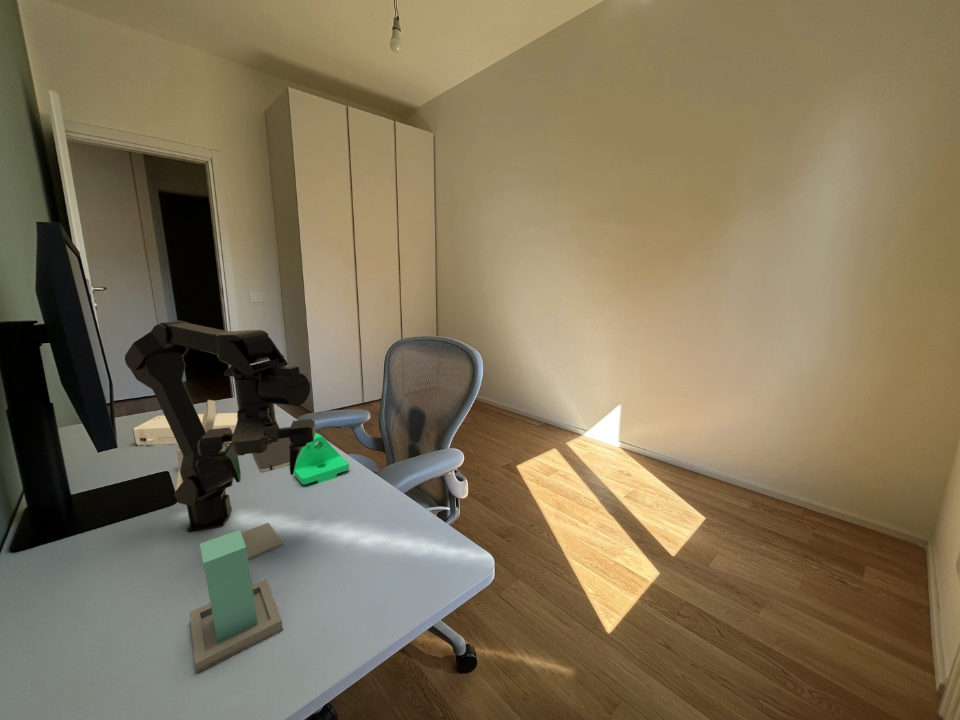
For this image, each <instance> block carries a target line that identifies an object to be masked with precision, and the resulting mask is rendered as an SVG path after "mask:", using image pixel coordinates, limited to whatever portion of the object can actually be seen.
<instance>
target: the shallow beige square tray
mask: <svg viewBox="0 0 960 720" xmlns="http://www.w3.org/2000/svg"><path fill="white" fill-rule="evenodd" d="M252 590H253V596H254V603H255V609H256V616H257V622H258V624H256V625H254V626H252V627H250V628H248V629H246V630H244V631H242V632H240V633H238V634H236V635H234V636H232V637H230V638H227V639H225V640H223V641H221V642H219V643H218V642H217V636H216V631H215V625H214V620H213V614H212V609H211V603H210V602H209V603H207V604H204V605H203V606H200V607H198V608H195V609H193V610H191V611H189V619H190V628H191V638H192V648H193V655H194V663H195V670H196V674H199V673H201V672H203V671H205V670H207V669H210V668H211V667H213V666H215V665H217V664H218V663H221V662H222V661H224V660H226V659H228V658H231V657H232V656H234V655H236V654H238V653H240V652H242V651H244V650H246V649H249V647H252V646H254V645H256V644H257V643H259V642H262V641H264V640H265V639H268V638H269V637H271V636H273V635H275V634H277V633H279V632H281V631H283V630H284V629H283V621H282V618H281V614H280V612H279V609H278V607H277V604H276V601H275V599H274V597H273V593H272V591H271V588H270V585H269V583H268V580H267V578H264V579H262V580H260V581H257V582H255V583H253V584H252Z"/></svg>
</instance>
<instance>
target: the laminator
mask: <svg viewBox="0 0 960 720" xmlns="http://www.w3.org/2000/svg"><path fill="white" fill-rule="evenodd" d="M197 414H198V416H199V419H200V421H201V423H202V421H203V416H204V413H197ZM237 420H238V418H237V412H222V413H217V412H216V417H215V421H214V425H213V429H220V428H229V427H230V429H231V430H232V433H234V430H235V427H236V424H237ZM132 434H133V438H134V442H135V445H136V444H145V443H147V444H171V443H173V444H174V443H177V441H176V439H175V437H174V434H173V432H172V430H171V428H170V426H169V424H168V422H167V419H166V417H165V415H156V416H153V417H152V418H150V419H148V420H146V421H145V422H142V423H140V424H139V425H137V426H135V427H133V428H132ZM177 444H178V443H177Z"/></svg>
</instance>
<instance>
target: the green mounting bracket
mask: <svg viewBox="0 0 960 720" xmlns="http://www.w3.org/2000/svg"><path fill="white" fill-rule="evenodd" d="M349 469H350V463H349V461H348V460H347V459H345V458H344V457H343V456H342V455H341V454H340V453H339V452H338V451H337V450H336V449H335V448H334V447H333V446H332V444H330V443H329V442H328V441H327V439H326V438H324V436H322V434H320V433H317V432H316V433H315V437H314V441H312V442H310V443H307V445H306V446H305V447H303V448H302V450H301V452H300V454H299V456H298V458H297V461H296V465H295V469H294V473H293V475H294V476H295V477H296V478H297V480H298V482H300V483H301V484H302V485H307V484H311V483H314V482H317V484H320V482H321V483H323V481H324V482H326V481H329V480H332V479H335V478H337V477H338V475H337V474H340V473H342V472H343V473H344V472H346V471H348V470H349Z"/></svg>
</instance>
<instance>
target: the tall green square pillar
mask: <svg viewBox="0 0 960 720" xmlns="http://www.w3.org/2000/svg"><path fill="white" fill-rule="evenodd" d="M241 533H242V531H241V529H238V530H236V531H233V532H229V533H227V534H224V535H221V536H218V537H215V538H213V539H210V540H207V541H203V542H201V543H199V547H200V551H201V552H200V553H201V559H202V564H203V569H204V574H205V575H204V576H205V581H206V586H207V591H208V598H209V603H211V609H212V614H213V620H214V625H215V631H216V636H217V642H218V643H219V642H221V641H223V640H225V639H227V638H230V637H232V636H234V635H236V634H238V633H240V632H242V631H244V630H246V629H248V628H250V627H252V626H254V625H256V624H258V622H257V616H256V609H255V603H254V596H253V590H252V585H253V584H252V578H251V577H252V576H251V571H250V570H251V569H250V566H249V565H250V564H249V560H248V557H247V550H246V546H245V543H244V540H243V537H242V534H241Z"/></svg>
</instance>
